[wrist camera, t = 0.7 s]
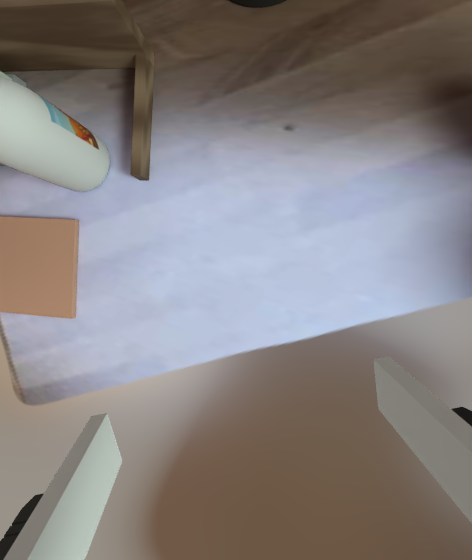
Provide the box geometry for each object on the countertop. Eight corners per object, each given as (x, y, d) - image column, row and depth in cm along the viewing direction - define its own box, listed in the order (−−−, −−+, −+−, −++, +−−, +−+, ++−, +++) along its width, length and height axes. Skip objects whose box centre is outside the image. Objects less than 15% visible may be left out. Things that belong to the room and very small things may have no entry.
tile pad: (-7, 216, 44) (-13, 215, 43) (79, 220, 42) (75, 219, 41) (-10, 309, 44) (-15, 310, 44) (75, 317, 43) (71, 318, 42)
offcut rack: (-14, 60, 43) (-102, -2, 33) (154, 54, 39) (112, -16, 30) (-16, 190, 44) (-104, 168, 34) (148, 196, 40) (104, 173, 30)
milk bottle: (120, 179, 41) (-31, 96, 21) (69, 202, 42) (-119, 144, 22) (99, 123, 41) (-71, -11, 21) (50, 148, 42) (-156, 42, 22)
